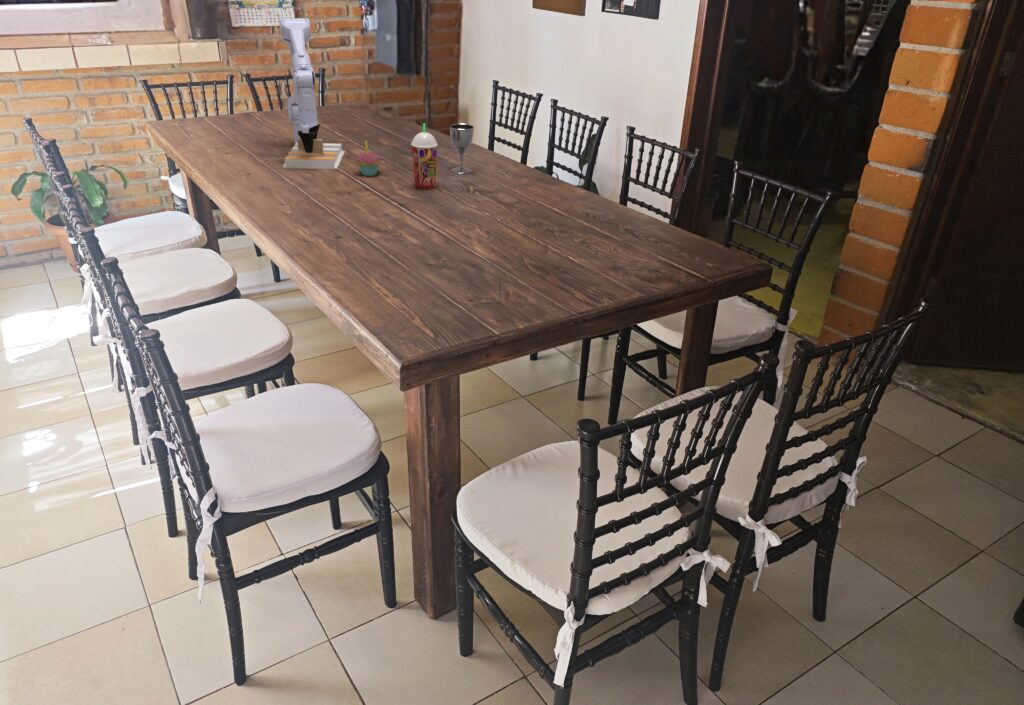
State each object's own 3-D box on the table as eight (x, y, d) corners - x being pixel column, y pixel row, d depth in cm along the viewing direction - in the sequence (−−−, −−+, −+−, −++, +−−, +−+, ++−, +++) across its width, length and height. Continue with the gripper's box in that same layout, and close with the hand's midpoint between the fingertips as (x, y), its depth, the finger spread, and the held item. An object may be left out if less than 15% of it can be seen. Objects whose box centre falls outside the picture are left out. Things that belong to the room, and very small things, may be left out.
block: (300, 162, 258) (298, 138, 254) (324, 162, 258) (322, 139, 254) (299, 163, 256) (297, 140, 252) (323, 164, 256) (321, 140, 253)
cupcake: (379, 178, 248) (377, 141, 242) (353, 176, 248) (351, 140, 242) (383, 170, 255) (382, 134, 249) (358, 169, 255) (356, 133, 249)
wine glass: (474, 168, 262) (475, 124, 255) (471, 174, 256) (471, 129, 248) (452, 166, 263) (452, 122, 256) (448, 172, 256) (448, 128, 249)
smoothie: (433, 191, 238) (433, 127, 228) (408, 189, 239) (406, 125, 229) (441, 184, 245) (440, 121, 235) (416, 181, 246) (415, 119, 236)
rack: (294, 151, 271) (293, 142, 270) (344, 152, 273) (344, 143, 271) (282, 168, 253) (281, 158, 251) (337, 169, 254) (336, 159, 252)
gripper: (298, 103, 254) (302, 143, 261) (290, 112, 241) (295, 155, 248) (319, 103, 254) (323, 144, 261) (313, 113, 242) (316, 155, 249)
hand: (310, 149), depth 255 cm, fingers open, 7 cm apart
